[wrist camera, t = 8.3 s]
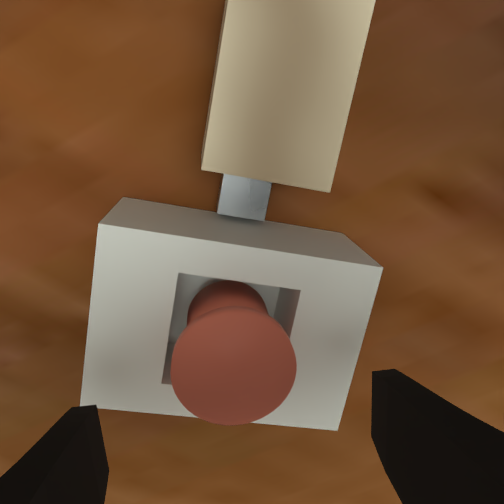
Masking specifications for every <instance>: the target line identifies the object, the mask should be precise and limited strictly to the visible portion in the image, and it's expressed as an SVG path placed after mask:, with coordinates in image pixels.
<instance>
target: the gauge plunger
mask: <svg viewBox="0 0 504 504" xmlns="http://www.w3.org/2000/svg"><path fill="white" fill-rule="evenodd" d="M296 371H297V363H296V356H295V352H294V349H293V347H292V344H291V342H290V339H289V337H288V335H287V333H286V332H285V330H284V328H283V327H282V326H281V325H280V324H279V323H278V322H277V321H276V320H275V319H274V318H272V317H271V316H269V314H268V311H267V308H266V305H265V303H264V300H263V299H262V297H261V296H260V294H259V293H258V292H257V291H256V290H255V289H254V288H252V287H251V286H249V285H247V284H245V283H242V282H239V281H233V280H224V281H218V282H215V283H212V284H210V285H208V286H206V287H204V288H203V289H202V290H200V291H199V292H198V293H197V294H196V296H195V297H194V298H193V300H192V302H191V303H190V306H189V309H188V314H187V327H186V328H185V329H184V330H183V331H182V333H181V334H180V336H179V337H178V339H177V341H176V344H175V346H174V349H173V354H172V361H171V371H170V374H171V382H172V387H173V389H174V392H175V394H176V396H177V398H178V399H179V401H180V402H181V403H182V405H183V406H184V407H185V408H186V409H187V410H188V411H189V412H191V413H192V414H194V415H195V416H197V417H199V418H200V419H203V420H205V421H207V422H211V423H214V424H220V425H241V424H246V423H250V422H253V421H256V420H258V419H261V418H263V417H265V416H266V415H268V414H270V413H271V412H272V411H274V410H275V409H276V408H277V407H278V406H280V405H281V404H282V402H283V401H284V400H285V399H286V397H287V396H288V394H289V393H290V391H291V389H292V387H293V384H294V381H295V377H296Z"/></svg>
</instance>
